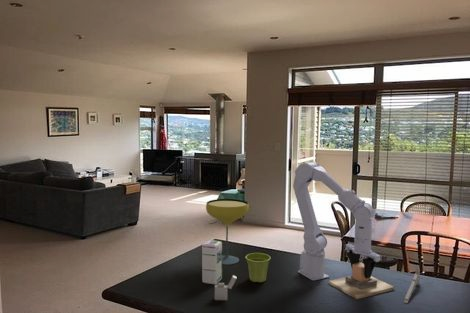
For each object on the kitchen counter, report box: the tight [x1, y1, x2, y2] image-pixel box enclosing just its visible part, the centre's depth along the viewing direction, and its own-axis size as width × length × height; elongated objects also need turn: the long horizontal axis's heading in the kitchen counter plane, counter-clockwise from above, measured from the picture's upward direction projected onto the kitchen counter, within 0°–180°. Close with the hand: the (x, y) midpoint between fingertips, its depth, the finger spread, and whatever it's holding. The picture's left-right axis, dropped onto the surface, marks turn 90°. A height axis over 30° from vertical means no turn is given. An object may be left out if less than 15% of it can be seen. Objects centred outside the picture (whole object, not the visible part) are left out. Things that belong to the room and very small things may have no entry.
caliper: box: [403, 268, 421, 304], centre depth 129 cm, size 20×1×6 cm, turn 144°
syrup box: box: [201, 239, 223, 285], centre depth 135 cm, size 6×6×14 cm
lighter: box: [214, 274, 237, 301], centre depth 121 cm, size 7×2×8 cm, turn 88°
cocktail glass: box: [205, 198, 250, 266], centre depth 156 cm, size 18×18×25 cm
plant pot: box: [245, 252, 272, 283], centre depth 137 cm, size 9×9×9 cm
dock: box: [328, 274, 395, 300], centre depth 133 cm, size 14×18×3 cm
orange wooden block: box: [351, 261, 369, 283], centre depth 132 cm, size 4×4×7 cm
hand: (361, 274), depth 133 cm, fingers open, 5 cm apart
